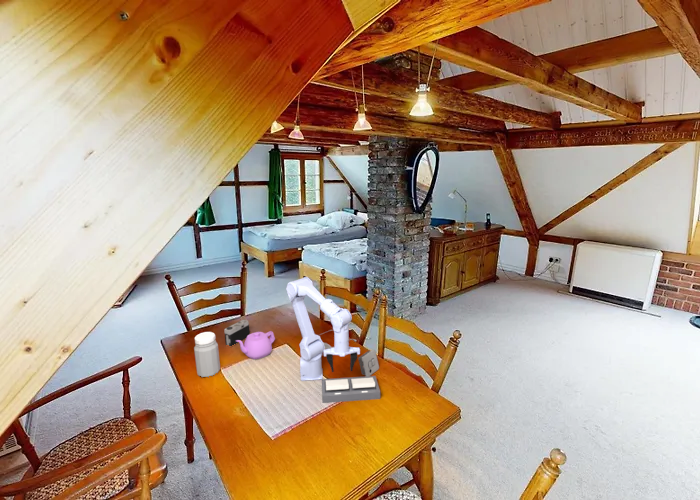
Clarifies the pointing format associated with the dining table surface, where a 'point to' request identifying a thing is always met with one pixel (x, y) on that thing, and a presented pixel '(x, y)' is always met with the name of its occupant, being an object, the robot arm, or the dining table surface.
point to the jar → (206, 354)
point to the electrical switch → (368, 363)
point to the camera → (236, 332)
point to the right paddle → (363, 382)
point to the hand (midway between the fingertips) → (342, 370)
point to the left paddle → (337, 384)
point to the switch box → (350, 392)
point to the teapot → (257, 344)
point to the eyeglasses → (329, 345)
